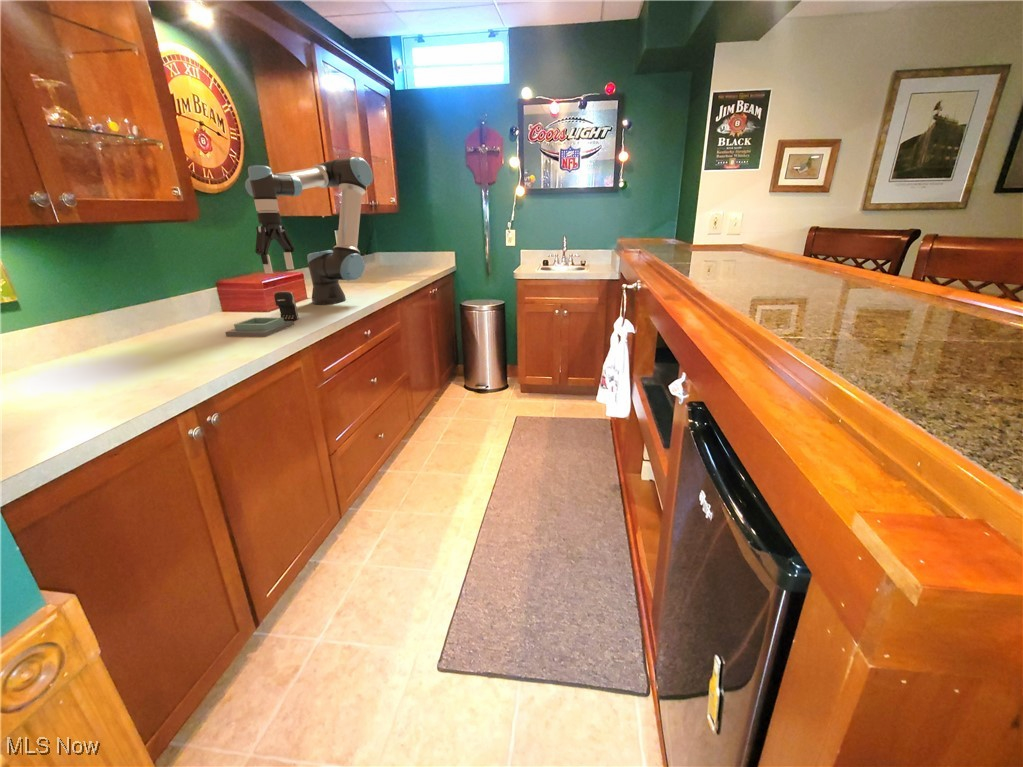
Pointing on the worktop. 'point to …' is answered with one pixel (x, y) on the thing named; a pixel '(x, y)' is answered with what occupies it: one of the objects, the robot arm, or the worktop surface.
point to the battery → (286, 305)
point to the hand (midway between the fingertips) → (280, 271)
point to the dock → (259, 327)
